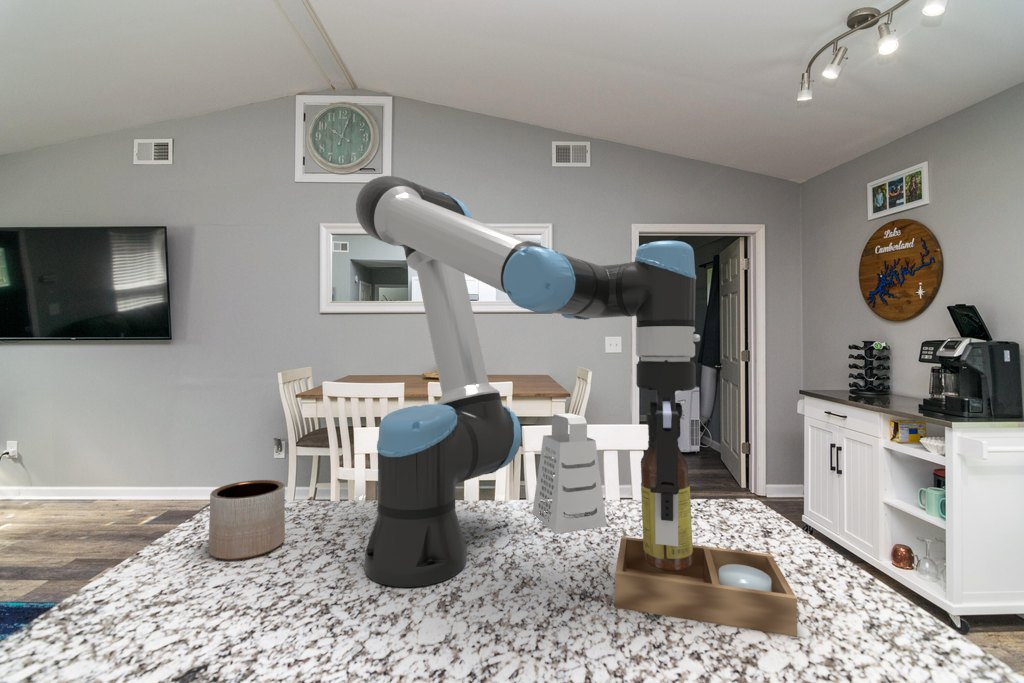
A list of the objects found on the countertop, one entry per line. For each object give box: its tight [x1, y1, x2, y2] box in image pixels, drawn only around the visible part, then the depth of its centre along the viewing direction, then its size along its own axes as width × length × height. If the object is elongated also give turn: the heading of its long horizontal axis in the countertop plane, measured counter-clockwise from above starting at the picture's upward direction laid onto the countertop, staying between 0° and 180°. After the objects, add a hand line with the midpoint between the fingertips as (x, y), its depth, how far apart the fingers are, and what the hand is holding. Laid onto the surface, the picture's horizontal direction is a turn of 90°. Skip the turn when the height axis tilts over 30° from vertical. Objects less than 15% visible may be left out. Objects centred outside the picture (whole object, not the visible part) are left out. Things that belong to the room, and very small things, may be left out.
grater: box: [531, 412, 608, 535], centre depth 91 cm, size 10×10×20 cm
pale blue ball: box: [719, 564, 771, 592], centre depth 60 cm, size 6×6×4 cm
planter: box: [208, 479, 286, 561], centre depth 78 cm, size 11×11×10 cm
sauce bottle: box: [640, 411, 694, 572], centre depth 63 cm, size 6×6×20 cm
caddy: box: [614, 536, 798, 638], centre depth 62 cm, size 20×12×5 cm, turn 73°
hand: (665, 533), depth 63 cm, fingers closed on sauce bottle, 6 cm apart
